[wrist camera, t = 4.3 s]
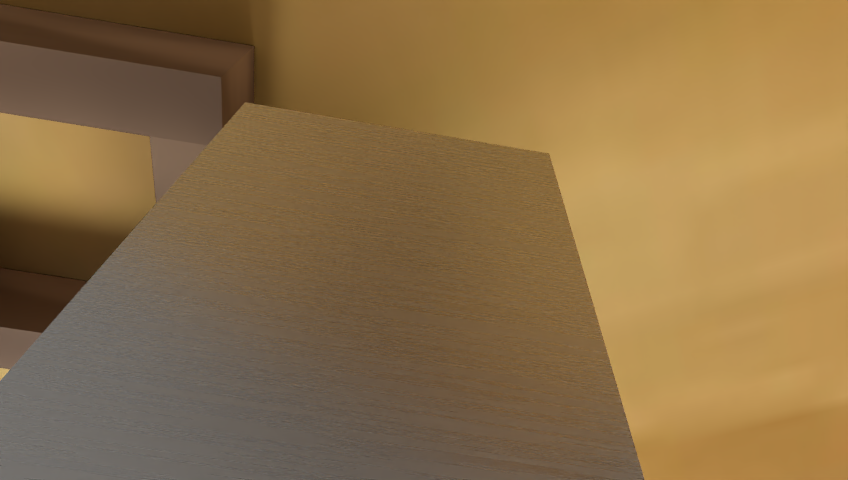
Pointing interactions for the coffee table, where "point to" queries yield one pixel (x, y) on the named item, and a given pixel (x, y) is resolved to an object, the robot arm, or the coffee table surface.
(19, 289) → the well block
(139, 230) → the rectangular block
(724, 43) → the coffee table surface
